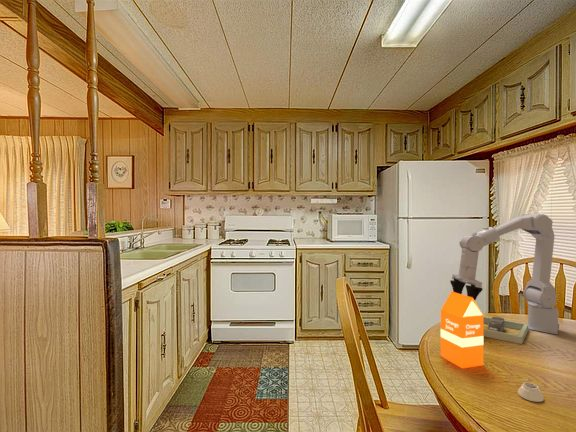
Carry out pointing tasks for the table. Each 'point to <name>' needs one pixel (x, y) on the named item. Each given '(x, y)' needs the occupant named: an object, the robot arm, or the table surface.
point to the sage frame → (506, 336)
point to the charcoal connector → (496, 324)
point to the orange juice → (462, 331)
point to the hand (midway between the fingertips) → (463, 301)
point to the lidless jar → (530, 392)
